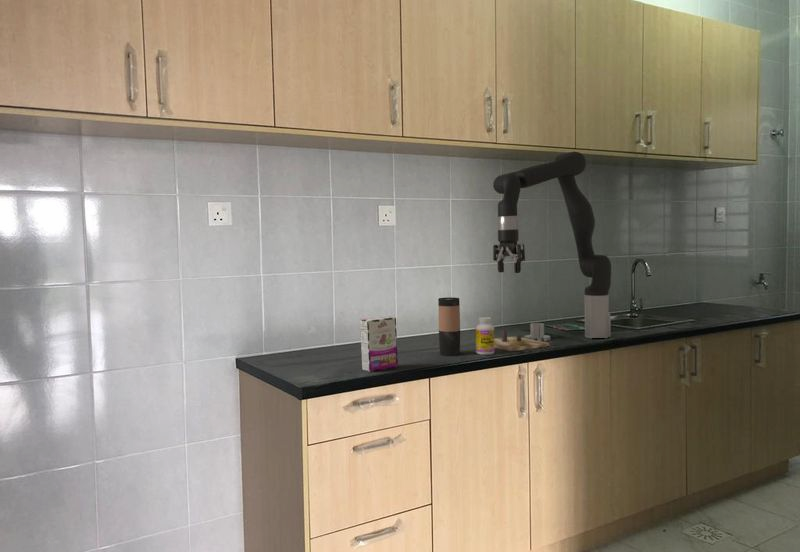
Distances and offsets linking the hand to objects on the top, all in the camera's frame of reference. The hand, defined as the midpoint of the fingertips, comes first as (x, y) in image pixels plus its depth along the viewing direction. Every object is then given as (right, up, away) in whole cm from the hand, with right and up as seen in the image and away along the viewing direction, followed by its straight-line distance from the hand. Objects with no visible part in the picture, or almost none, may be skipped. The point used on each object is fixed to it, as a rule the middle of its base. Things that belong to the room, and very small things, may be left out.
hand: (509, 272), depth 236 cm
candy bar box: (-47, -31, -31) cm, 64 cm away
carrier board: (+3, -28, +8) cm, 29 cm away
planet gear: (+15, -27, +19) cm, 36 cm away
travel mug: (-23, -29, -9) cm, 38 cm away
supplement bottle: (-10, -29, -9) cm, 32 cm away
